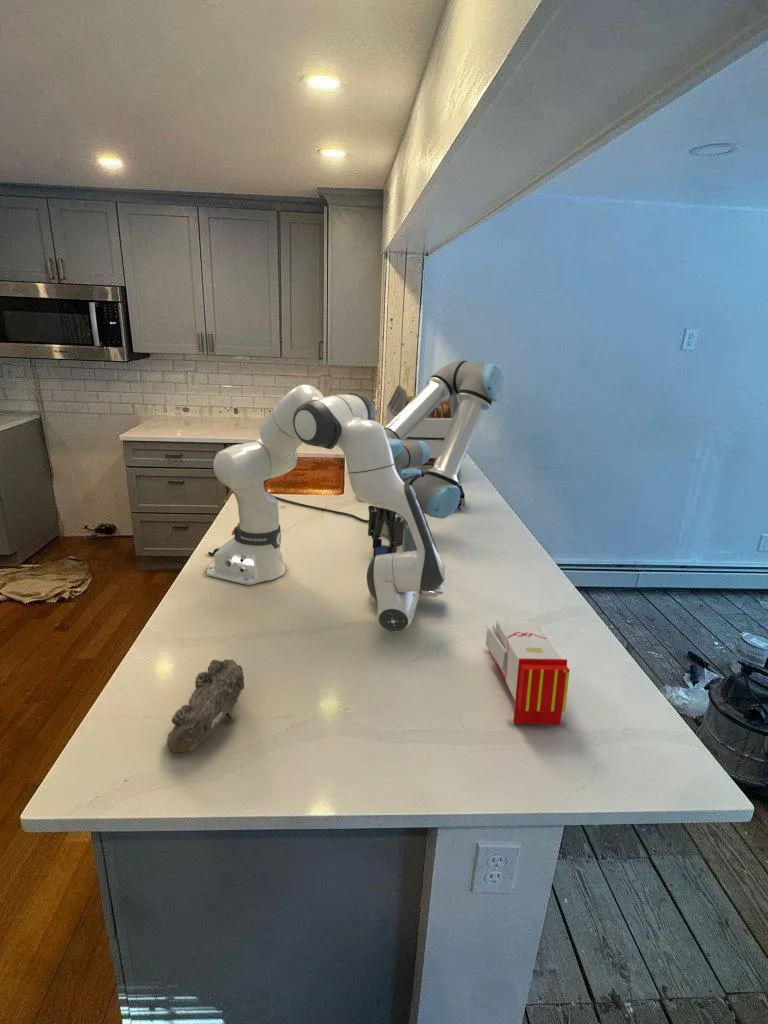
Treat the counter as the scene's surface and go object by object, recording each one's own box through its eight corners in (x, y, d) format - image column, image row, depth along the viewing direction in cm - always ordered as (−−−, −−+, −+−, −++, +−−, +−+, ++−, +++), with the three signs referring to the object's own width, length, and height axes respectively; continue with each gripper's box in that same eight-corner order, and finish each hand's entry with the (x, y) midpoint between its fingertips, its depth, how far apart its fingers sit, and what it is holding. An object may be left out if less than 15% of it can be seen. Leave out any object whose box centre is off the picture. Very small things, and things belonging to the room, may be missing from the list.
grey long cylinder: (397, 586, 162) (400, 524, 156) (412, 584, 164) (416, 522, 157) (404, 594, 158) (408, 530, 151) (419, 591, 160) (424, 528, 153)
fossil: (192, 660, 117) (244, 628, 112) (224, 691, 120) (276, 661, 115) (142, 746, 98) (202, 712, 93) (182, 779, 101) (242, 748, 96)
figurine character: (465, 515, 224) (460, 499, 237) (467, 498, 221) (462, 483, 234) (448, 515, 224) (444, 499, 237) (450, 498, 220) (445, 482, 234)
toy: (532, 606, 134) (578, 666, 105) (527, 658, 137) (571, 730, 108) (481, 605, 134) (513, 664, 105) (478, 657, 137) (508, 730, 107)
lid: (389, 559, 173) (389, 553, 173) (372, 556, 175) (373, 550, 174) (394, 552, 178) (394, 546, 178) (378, 550, 180) (378, 544, 179)
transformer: (382, 463, 289) (386, 382, 275) (445, 464, 293) (451, 384, 279) (390, 482, 257) (394, 392, 243) (460, 483, 261) (468, 394, 247)
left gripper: (443, 584, 144) (447, 562, 157) (365, 575, 147) (375, 554, 160) (441, 606, 146) (445, 582, 159) (364, 596, 149) (374, 574, 162)
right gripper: (357, 486, 173) (355, 555, 181) (401, 501, 161) (396, 575, 169) (375, 481, 178) (371, 549, 186) (418, 496, 166) (413, 568, 174)
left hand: (409, 568), depth 160 cm, fingers closed on grey long cylinder, 5 cm apart
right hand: (383, 561), depth 177 cm, fingers closed on lid, 5 cm apart
